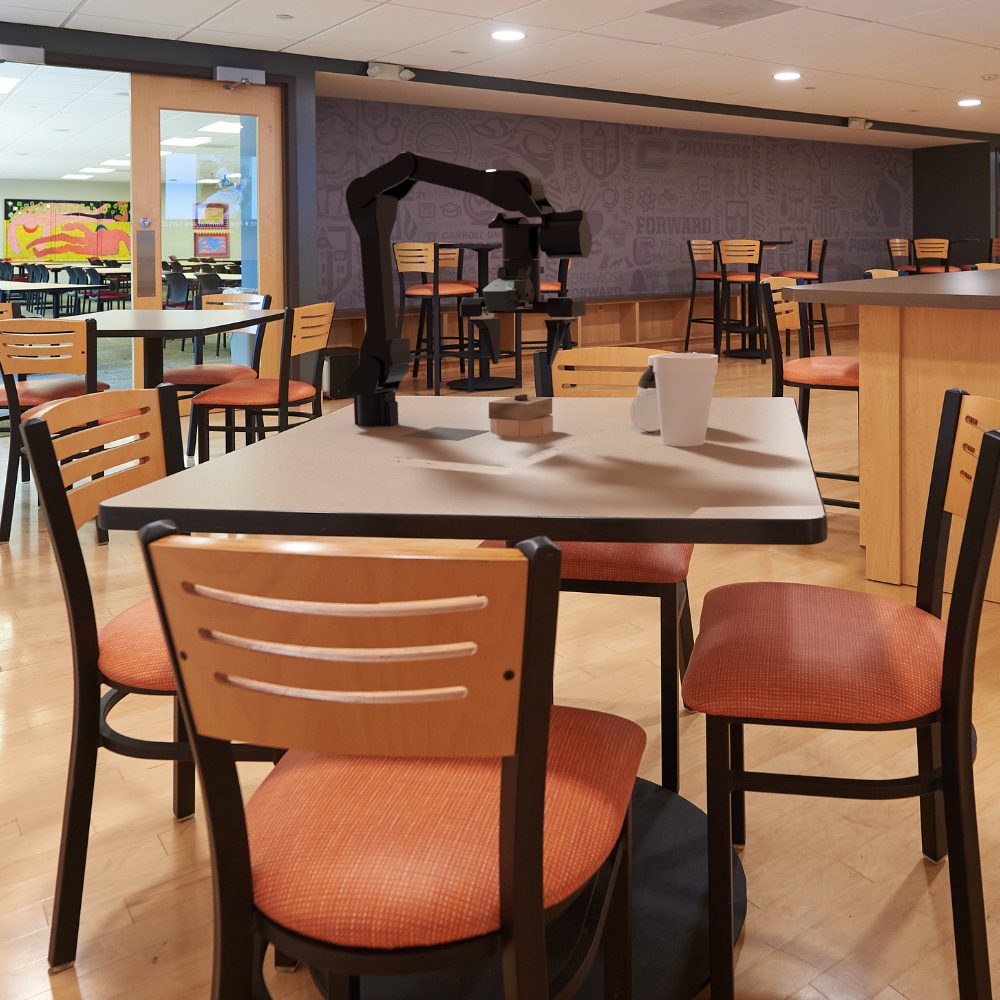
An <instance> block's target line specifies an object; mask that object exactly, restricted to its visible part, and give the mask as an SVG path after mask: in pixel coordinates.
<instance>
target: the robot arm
mask: <svg viewBox="0 0 1000 1000" xmlns="http://www.w3.org/2000/svg"><path fill="white" fill-rule="evenodd" d="M420 182H424V183H429V184H432V185H437V186H440V187H444V188H449V189H452V190H455V191H460V192H464V193H468V194H473V195H475V196H477V197H480V198H481V199H483V200H485V201H487V202H488V203H490V204H492V205H494V206H496V207H499V208H501V209H503V210H504V211H508V212H510V213H511V212H513V213H519V214H522V215H523V216H520V217H519V216H514V217H513V216H512V217H509V216H508V215H507V213H505V212H498V213H497V214H496V216H495V218H493V219H492V220H491V221H490V222H489V223H488V224H487V227H488V229H491V230H501V260H502V261H501V262H502V263H501V265H502V266H498V268H497V271H496V272H497V277H496V279H495V280H493V281H491V282H489V284H488V285H487V286H485V287H484V288H483V289H482V294H483V297H468V298H467V297H463V299H462V301H460V302H461V303H460V304H459V317H460V318H461V317H462V318H463V317H465V318H468V319H467V322H468V323H470V324H473V325H474V326H475V327H476V328H477V330H479V332H480V334H481V336H482V338H483V340H484V343H485V346H486V349H487V351H488V354H489V357H490V360H491V362H492V365H498V364H499V361H500V354H501V351H500V350H501V323H502V321H501V320H502V319H501V317H495V316H496V314H547V315H548V316H549V317H550V319H544V320H543V321H544V325H545V328H546V332H547V333H546V350H545V351H546V352H545V353H546V354H545V356H546V358H545V359H546V365H547V367H551V366H553V363H554V362H555V359H556V356H557V355H558V351H559V350H560V347H561V344H562V342H563V340H564V338H565V336H566V334H567V331H568V330H569V328H570V327H571V324H573V323H577V322H578V318H579V317H585V316H586V303H585V301H584V299H583V298H582V297H581V296H569V297H568V296H563V297H561V296H559V297H547V301H545V294H543V293H542V294H541V274H545V267H544V266H541V252H542V253H545V255H546V257H547V258H548V259H550V260H564V259H565V260H569V259H571V260H572V259H588V258H589V256H590V255H591V251H592V246H593V234H592V232H591V226H590V223H589V220H588V215H587V214H588V211H586V210H584V209H574V210H571V211H562V212H561V211H559V212H557V210H556V209H555V208H554V206H553V204H551V202H550V200H549V199H548V198H547V196H546V194H545V193H546V192H545V185H544V184H543V182H542V180H541V178H540V177H538V176H537V175H535V174H532V173H528V172H524V171H520V170H512V169H511V170H510V169H509V170H508V169H478V168H474V167H469V166H465V165H463V164H461V165H460V164H457V163H452V162H450V161H449V162H448V161H444V160H441V159H436V158H431V157H428V156H425V155H423V154H421V153H418V152H414V151H411V150H410V151H409V150H408V151H407V150H406V151H405V150H404V151H401V152H400V153H399V154H398V155H396V156H395V157H394V158H392V159H391V160H390V161H388V162H386V163H384V164H382V165H380V166H378V167H376V168H374V169H372V170H371V171H369V172H368V173H367V174H365V175H364V176H359V177H355V178H354V179H353V180H351V182H350V183H349V184H348V185H347V187H346V190H345V195H344V198H345V202H346V207H347V213H348V217H349V220H350V222H351V224H352V226H353V228H354V230H355V232H356V234H357V236H358V238H359V248H360V249H359V250H360V261H361V274H362V276H361V277H362V289H363V303H364V313H365V316H364V317H365V332H364V335H363V338H362V340H361V343H360V346H359V354H358V355H359V356H358V366H357V368H356V369H355V370H354V371H353V372H352V373H351V374H350V376H349V377H348V378H347V380H345V382H344V384H345V386H346V390H347V392H348V394H349V395H351V396H352V395H353V410H354V411H353V412H354V413H353V414H354V415H353V417H354V425H356V426H357V425H358V426H360V427H368V428H369V427H370V428H373V427H375V428H377V427H393V426H398V425H399V405H398V404H399V403H398V401H397V399H396V392H395V391H399V390H400V388H401V384H402V381H403V379H404V378H405V376H406V375H407V374H408V373H409V368H410V364H411V363H413V360H412V357H411V352H410V351H411V339H410V337H402V336H401V334H400V332H399V330H398V328H397V320H396V309H395V306H396V305H395V294H394V292H395V291H394V278H393V276H394V275H393V267H392V266H393V265H392V263H393V262H392V250H391V234H392V232H393V230H394V226H395V223H396V220H397V214H398V212H397V211H398V203H400V202H401V201H402V200H403V199H405V198H406V197H407V196H409V194H411V192H412V190H413V189H414V188H415V186H416V185H417V184H418V183H420ZM528 218H531V219H537V220H541V222H539V223H530V221H529V220H528ZM526 303H528V305H526ZM577 317H578V318H577Z"/></svg>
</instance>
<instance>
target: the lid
mask: <svg viewBox="0 0 1000 1000" xmlns="http://www.w3.org/2000/svg"><path fill="white" fill-rule="evenodd" d="M552 414H553V397H548V396H530V395H529V396H528V394H527V393H515V394H514V395H513V396H509V397H504V398H500V399H496V400H493V401H489V402H488V419H503V420H519V421H529V420H532V419H536V418H539V417H542V416H546V415H552Z"/></svg>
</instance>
